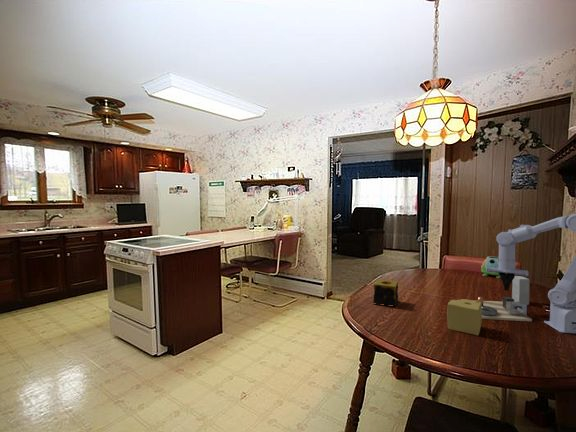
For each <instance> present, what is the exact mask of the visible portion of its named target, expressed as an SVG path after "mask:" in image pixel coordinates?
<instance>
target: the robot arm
mask: <svg viewBox="0 0 576 432" xmlns="http://www.w3.org/2000/svg"><path fill="white" fill-rule="evenodd" d="M559 228H561V229H569V230H571V231H572V232H573V233H574V234H576V213H573V214H570V215H564V216H560V217H559V216H558V217H556V218H553V219H550V220H548V221H543V222H542V223H538V224H536V225H533V226H532V225H530V224H520V225H519V227H516V228H514V229H513V228H510V229H508V230H507V231H501V232H499V233H498V234H497V235H496V237H495V238H496V239H495V240H496V242H497V243H498V257H499V268H493V267H486V272H493V273H499V275H500V277H501V278H500V279H501V282H502V286H503V291H509V290H510V286H511V284H512V283H513V279H514V277H515V276H524V277H525V276H526V277H529V271H528V270H525V269H517V268H516V269H515V264H516V244H517V243H522V242H524V241H525V242H526V241H528V240H531V239H535V238H536V237H537V235H538V234H540V233H544V232H548V231H551V230H554V229H559ZM547 298H548V299H549V301H550V304H549V305H550V307H549V320H544V321H543V323H544V324H547V325H549V327H552V328H553V329H555V330H557V332H559V333H563V334H576V254H575V255H574V256H573V258H572V261H570V263H569V265H568V267H567V269H566V271H565V273H564V275H563V277H562V279H561V280H559V281H558V283H556V285H555V287H553V288H551V289H550V290H549V291H548V293H547Z"/></svg>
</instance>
